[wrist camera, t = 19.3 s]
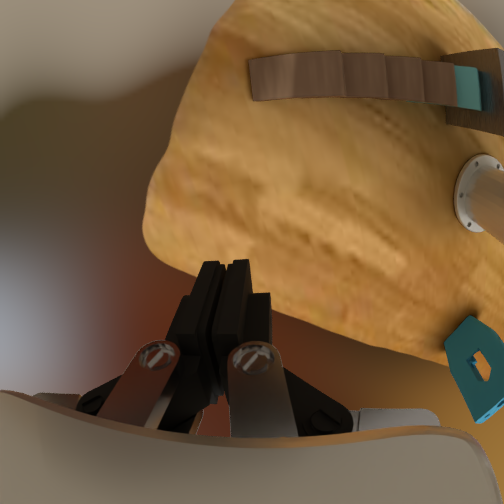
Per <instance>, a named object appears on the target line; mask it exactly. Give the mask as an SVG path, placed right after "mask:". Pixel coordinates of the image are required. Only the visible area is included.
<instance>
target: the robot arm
mask: <svg viewBox="0 0 504 504" xmlns="http://www.w3.org/2000/svg"><path fill="white" fill-rule="evenodd" d="M454 206H455V212H456V215H457V218H458V220H459V222H460V223H461V224H462V225H463V226H464V227H465V228H466V229H468V230H470V231H471V232H483V231H487V232H488V233H489V234H491V235H492V236H493V237H495V238H496V239H497V240H499V241H500V242H501V243H503V244H504V169H503V167H502V165H501V163H500V162H499V161H498V160H497V159H495V158H494V157H492V156H489V155H486V154H480V155H476V156H474V157H472V158H471V159H470V160H469V161H468V162H467V163H466V164H465V165H464V167H463V168H462V170H461V172H460V174H459V176H458V179H457V182H456V186H455V192H454ZM224 391H225V395H226V398H227V401H228V405H229V411H230V427H231V437H217V436H204V435H196V433H197V430H198V428H199V425H200V422H201V419H202V417H203V409H204V408H205V407H207V406H208V405H210V404H217V401H218V396H223V394H224ZM0 504H503V502H502V498H501V494H500V490H499V487H498V483H497V480H496V477H495V474H494V471H493V469H492V466H491V464H490V462H489V459H488V457H487V456H486V453H485V451H484V450H483V448H482V447H481V445H480V444H479V442H478V441H477V440H476V439H475V438H473V436H472V435H470V434H468V433H467V432H464V431H461V430H458V429H454V428H450V427H442V426H440V422H439V419H438V418H437V416H436V415H435V414H434V413H433V412H431V411H429V410H426V409H369V408H361V409H360V411H349V410H348V409H346V408H345V407H344V406H343V405H341V404H340V403H338V402H336V401H335V400H333V399H332V398H330V397H328V396H327V395H325V394H324V393H322V392H321V391H319V390H317V389H316V388H314V387H313V386H311V385H309V384H308V383H306V382H305V381H303V380H302V379H300V378H299V377H297V376H296V375H294V374H293V373H291V372H290V371H288V370H287V369H285V368H284V367H283V366H282V362H281V357H280V354H279V352H278V350H277V349H276V348H275V347H274V346H273V345H272V310H271V296H270V293H253V290H252V281H251V272H250V264H249V259H242V260H234V261H233V264H228V267H227V270H226V268H225V265H224V264H220V262H219V261H204V262H203V265H202V267H201V269H200V272H199V274H198V277H197V279H196V282H195V284H194V287H193V289H192V292H191V294H190V295H185V296H183V298H182V300H181V302H180V304H179V307H178V309H177V311H176V314H175V316H174V319H173V321H172V323H171V326H170V328H169V331H168V333H167V336H166V338H165V340H157V341H153V342H150V343H148V344H146V345H144V346H143V347H141V348H140V350H139V351H138V352H137V353H136V355H135V356H134V358H133V359H132V361H131V362H130V364H129V365H128V367H127V368H126V370H125V371H124V373H123V374H122V375H120V376H118V377H117V378H115V379H113V380H111V381H109V382H107V383H105V384H103V385H101V386H99V387H97V388H95V389H93V390H91V391H89V392H87V393H86V394H84V395H83V396H81V395H80V394H59V393H37V394H35V395H33V396H30V395H27V394H24V393H20V392H15V391H10V390H0Z"/></svg>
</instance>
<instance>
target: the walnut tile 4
mask: <svg viewBox="0 0 504 504" xmlns="http://www.w3.org/2000/svg"><path fill="white" fill-rule="evenodd" d="M421 64H422V73H423V84H424V98H425V103H434V104H442V105H449V106H455V107H458V104H457V89H456V77H455V68H454V64H453V63H447V62H437V61H423V60H421ZM376 99H381V98H376ZM384 100H397V99H384ZM401 101H409V100H401ZM414 102H419V101H414Z"/></svg>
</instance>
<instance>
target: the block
mask: <svg viewBox="0 0 504 504" xmlns="http://www.w3.org/2000/svg"><path fill="white" fill-rule="evenodd" d="M444 346H445V350H446V354H447V358H448V363H449V367H450V372H451V374H452V376H453V378H454V379H455V381H456V383H457V385H458V387H459V389H460V391H461V393H462V395H463V397H464V399H465V402H466V404H467V406H468V408H469V410H470V412H471V415H472V417H473V419H474V421H475V423H483V422H484V421H486V420H487V419H488V418H489V417H491V416H492V415H493V414H494V413H495V412H496V411H498V410H499V409H500V408H501V407H502V406H503V405H504V343H503V341H502V340H501V339H500V337H499V336H498V334H497V333H496V332H495V331H494V330H493V329H491V328H490V327H488V326H487V325H485V324H484V323H482V322H481V321H479V320H477V319H476V318H474V317H473V316H471V315H469V316H468V317H467V318H466V319H465V320H464V321H463V322H462V323H461V324H460V325H459V327H458V328H457V329H456V330H455V331H454V332H453V333H452V334H451V335H450V336H449V337H448V338H447V339H446V341H445V342H444ZM478 351H481V353H482V354H483V355H484V357H485V359H486V360H487V362H488V363H489V365H490V367H491V373H490V377H489V380H488V381H484V380H483V378H482V376H481V375H480V373H479V371H478V369H477V368H476V366H475V364H476V363H477V361H476V359H475V358H474V356H473V355H474V354H475V353H476V352H478Z"/></svg>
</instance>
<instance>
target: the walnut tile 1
mask: <svg viewBox="0 0 504 504" xmlns="http://www.w3.org/2000/svg"><path fill="white" fill-rule="evenodd" d="M249 69H250V77H251V85H252V94H253V101H267V100H277V99H290V98H305V97H337V96H347V95H346V85H345V75H344V67H343V59H342V53H341V51H340V50H336V51H317V52H304V53H294V54H285V55H277V56H270V57H264V58H258V59H252V60H249Z"/></svg>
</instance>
